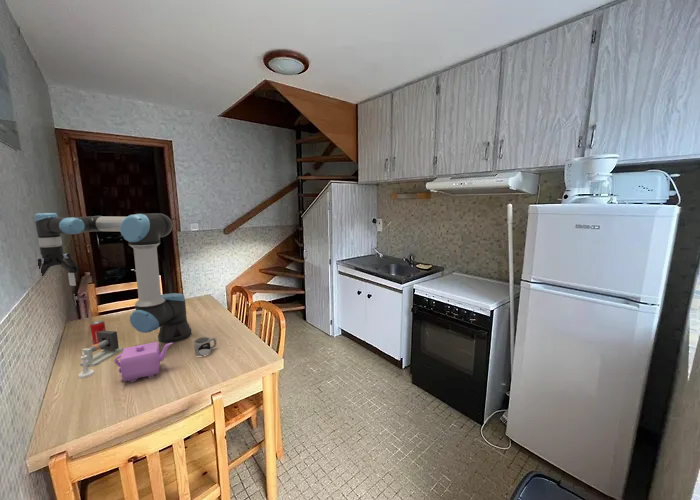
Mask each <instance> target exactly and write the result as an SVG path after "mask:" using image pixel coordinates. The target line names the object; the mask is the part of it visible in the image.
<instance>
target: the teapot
mask: <svg viewBox="0 0 700 500" xmlns="http://www.w3.org/2000/svg"><path fill="white" fill-rule="evenodd" d="M159 343H160V342H159V341H154V342H150V343H149V342H148V343H143V344H138V345H134V346H129V347H124V348H123V350H122V353H121V354H117V355H116V357H115V358H114V364H116V366H117V367H119V368H118V372H119V374H121V381H122V382H127V381H128V382H129V383H134V382H136V381H137V380H138V378H139V379H140V378H143V377H147V378H149V377H151V378H153V377H152V376H154V375H155V376H156V375H157V374H160V368H161V367H160V366H161V362H162V361H163V360H164V358H165V357H166V354H167V351H168V349H169V347H170V346H171V345H172V344H174V343H165V344H164V346H163V348H162V351H161V352H160V345H159ZM119 358H120V359H119ZM155 376H154V377H155ZM149 379H150V378H149ZM135 380H136V381H135Z"/></svg>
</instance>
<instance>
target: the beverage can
mask: <svg viewBox="0 0 700 500" xmlns="http://www.w3.org/2000/svg"><path fill="white" fill-rule="evenodd" d="M89 326H90V331H91V332H90V333H91V340H92V346H93V345H95V344H98V343H99V337H98V332H101V331H106V324H105V322H104V320H96V321H92V322H91V323H90V325H89Z"/></svg>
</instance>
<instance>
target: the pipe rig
mask: <svg viewBox="0 0 700 500" xmlns="http://www.w3.org/2000/svg"><path fill="white" fill-rule="evenodd" d="M107 344H110V338H107V339H106V340H104V341H102V342H100V343H98V344H95V345H93V344H92V345H91V346H89V347H87V348H82V349H81V353H82V352H84V355H87V358H86V360H88V362H87V367H96V366H98V365H99V364H101V363H102V362H105V361H107V360H108V359H110V358H112V357H113V356H115V355H118V353H120V352H123V350H124V348H123V347H119V348H118V349H116V350H102V351H99V352H97V353H95V352H96V351H98V350H101V349H100V348H102V347H104V346H105V345H107ZM93 353H95V354H94V355H93ZM81 356H83V354H82V355H81ZM79 365H80V366H83V364H81V362H79Z"/></svg>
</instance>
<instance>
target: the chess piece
mask: <svg viewBox="0 0 700 500" xmlns="http://www.w3.org/2000/svg"><path fill="white" fill-rule="evenodd" d="M81 353H82V354H83V355H81V356H80V360H81V362H80V363H81V364H83V365H82V367H83V368H82V371H81V372H80V373H78V378H79V379H85V378H89V377H91V376H93V375H94V374H95V369H89V366H87V362H88V360H86V358H87V355H84V352H82V351H81Z"/></svg>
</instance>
